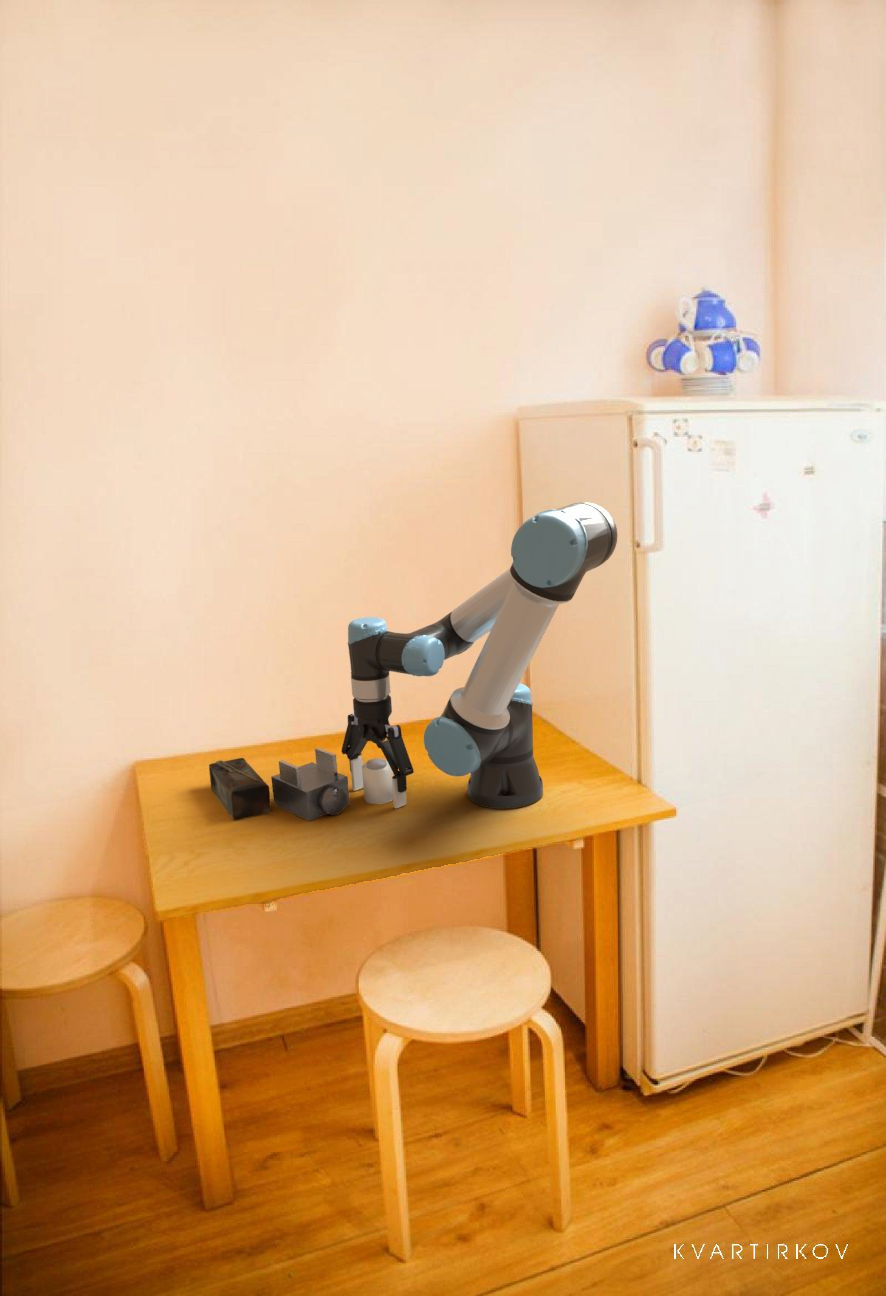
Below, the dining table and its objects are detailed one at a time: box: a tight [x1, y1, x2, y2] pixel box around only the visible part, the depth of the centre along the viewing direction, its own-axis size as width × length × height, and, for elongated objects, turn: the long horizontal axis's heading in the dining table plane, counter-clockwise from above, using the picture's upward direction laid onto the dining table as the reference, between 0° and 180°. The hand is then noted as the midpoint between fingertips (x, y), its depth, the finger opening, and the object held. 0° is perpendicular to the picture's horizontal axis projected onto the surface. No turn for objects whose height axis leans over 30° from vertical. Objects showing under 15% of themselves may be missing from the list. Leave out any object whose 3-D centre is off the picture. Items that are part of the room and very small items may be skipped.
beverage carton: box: [208, 757, 272, 821], centre depth 201 cm, size 8×19×7 cm, turn 26°
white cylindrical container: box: [362, 757, 394, 805], centre depth 198 cm, size 6×6×8 cm
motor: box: [270, 747, 351, 822], centre depth 196 cm, size 14×10×10 cm
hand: (379, 797), depth 199 cm, fingers open, 12 cm apart
